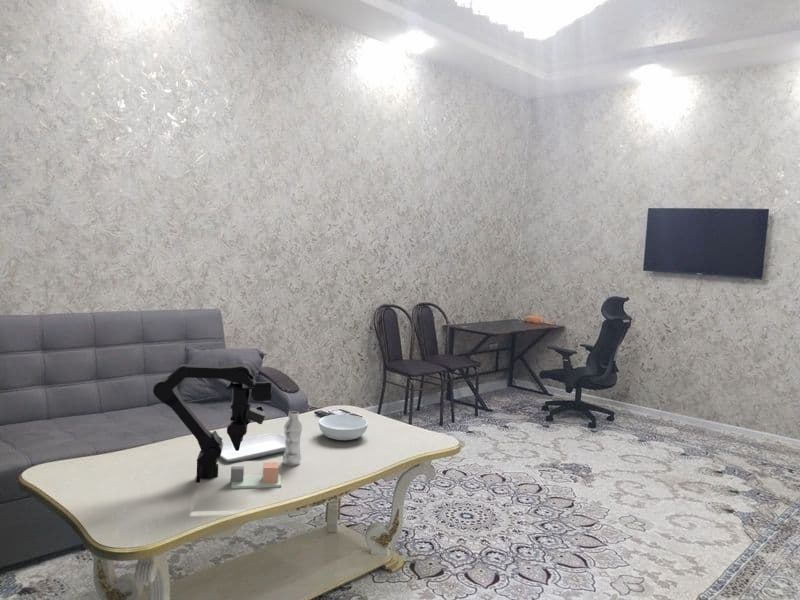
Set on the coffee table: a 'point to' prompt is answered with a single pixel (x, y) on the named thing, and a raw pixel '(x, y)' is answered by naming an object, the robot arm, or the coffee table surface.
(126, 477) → the coffee table surface
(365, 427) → the serving bowl
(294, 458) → the plastic bottle
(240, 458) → the tray
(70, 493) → the coffee table surface
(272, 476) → the terracotta block
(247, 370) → the robot arm
